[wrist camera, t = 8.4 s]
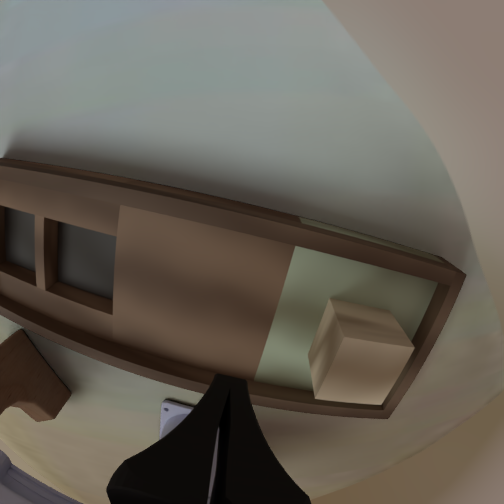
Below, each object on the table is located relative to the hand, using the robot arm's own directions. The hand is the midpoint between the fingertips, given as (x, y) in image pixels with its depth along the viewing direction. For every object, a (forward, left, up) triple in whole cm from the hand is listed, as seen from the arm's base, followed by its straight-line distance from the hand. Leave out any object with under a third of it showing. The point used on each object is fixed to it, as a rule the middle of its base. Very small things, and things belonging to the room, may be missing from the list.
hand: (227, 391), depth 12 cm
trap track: (0, +5, -9) cm, 11 cm away
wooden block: (-15, +20, -10) cm, 27 cm away
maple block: (0, -7, -7) cm, 10 cm away
